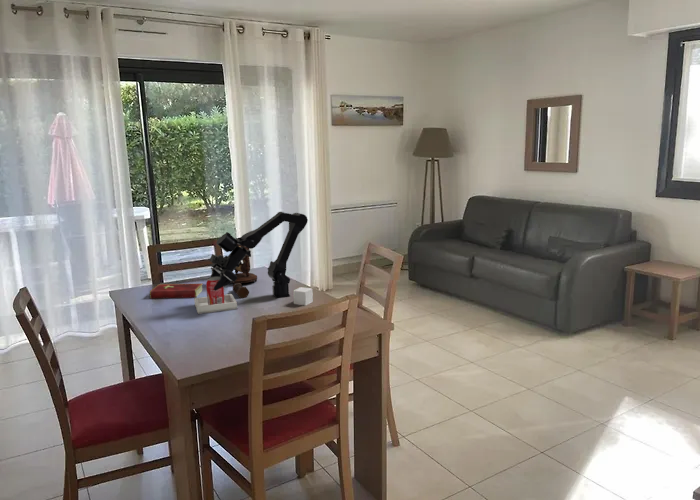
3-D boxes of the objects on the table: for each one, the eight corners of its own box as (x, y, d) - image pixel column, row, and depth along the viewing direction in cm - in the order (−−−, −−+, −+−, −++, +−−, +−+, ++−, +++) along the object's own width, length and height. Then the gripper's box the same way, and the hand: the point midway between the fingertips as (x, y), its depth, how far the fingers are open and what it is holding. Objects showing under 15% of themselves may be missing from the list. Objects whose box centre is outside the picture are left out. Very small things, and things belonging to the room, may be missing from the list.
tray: (232, 300, 237) (231, 293, 236) (237, 309, 224) (236, 302, 223) (194, 304, 231) (194, 298, 230) (198, 314, 218) (197, 307, 217)
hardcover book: (196, 298, 242) (195, 289, 241) (150, 299, 242) (149, 290, 241) (203, 291, 254) (202, 282, 253) (159, 292, 254) (158, 283, 253)
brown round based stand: (263, 281, 268) (261, 242, 264) (238, 287, 257) (236, 247, 253) (246, 277, 278) (243, 239, 274) (221, 282, 267) (219, 243, 263)
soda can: (214, 302, 231) (212, 275, 229) (228, 304, 228) (226, 276, 226) (204, 307, 225) (202, 279, 222) (217, 308, 222) (215, 280, 220)
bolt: (238, 293, 254) (245, 300, 240) (228, 289, 252) (235, 296, 238) (243, 282, 254) (251, 289, 241) (233, 278, 252) (241, 284, 239)
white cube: (312, 301, 232) (312, 288, 231) (305, 305, 227) (305, 292, 226) (301, 300, 235) (300, 287, 234) (293, 304, 229) (293, 290, 228)
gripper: (213, 243, 232) (190, 272, 229) (227, 250, 216) (202, 281, 213) (232, 259, 238) (210, 286, 234) (247, 266, 222) (223, 296, 219)
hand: (211, 287), depth 225 cm, fingers open, 9 cm apart
